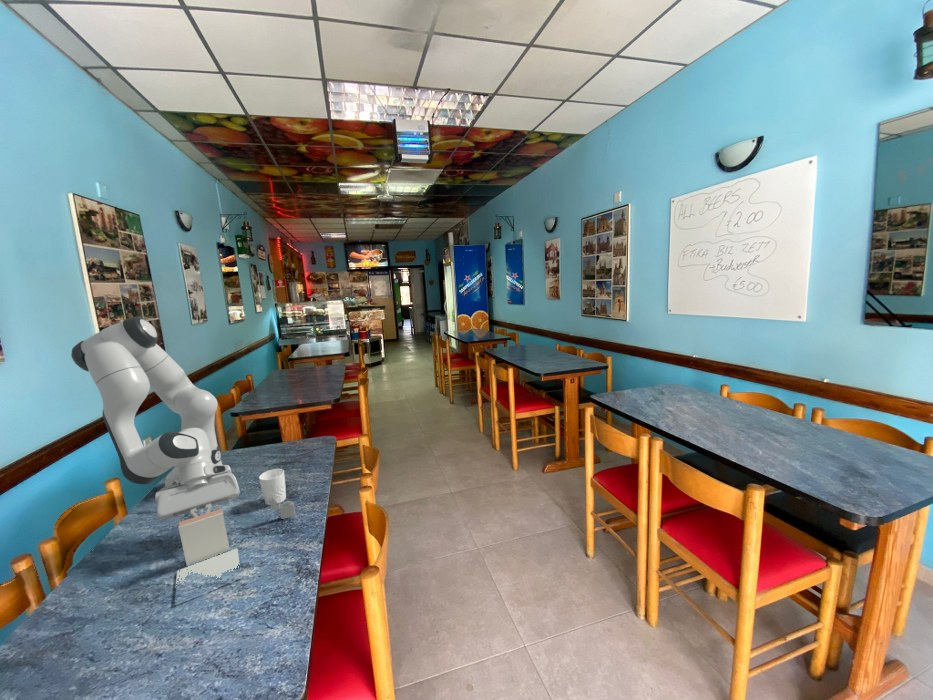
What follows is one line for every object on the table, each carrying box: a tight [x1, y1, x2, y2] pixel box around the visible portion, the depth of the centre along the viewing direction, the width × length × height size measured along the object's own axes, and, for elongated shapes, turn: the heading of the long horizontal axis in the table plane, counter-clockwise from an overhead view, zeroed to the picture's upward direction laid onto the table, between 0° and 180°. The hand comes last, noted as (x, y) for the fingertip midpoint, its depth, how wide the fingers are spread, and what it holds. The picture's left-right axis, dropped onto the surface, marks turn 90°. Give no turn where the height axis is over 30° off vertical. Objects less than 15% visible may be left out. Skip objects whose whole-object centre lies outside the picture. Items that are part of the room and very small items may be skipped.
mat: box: [175, 548, 241, 587], centre depth 100 cm, size 14×14×1 cm
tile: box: [178, 508, 230, 566], centre depth 107 cm, size 3×10×12 cm, turn 124°
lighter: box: [268, 497, 296, 520], centre depth 123 cm, size 7×2×8 cm, turn 116°
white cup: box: [258, 468, 287, 506], centre depth 134 cm, size 8×8×10 cm
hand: (203, 522), depth 111 cm, fingers closed
